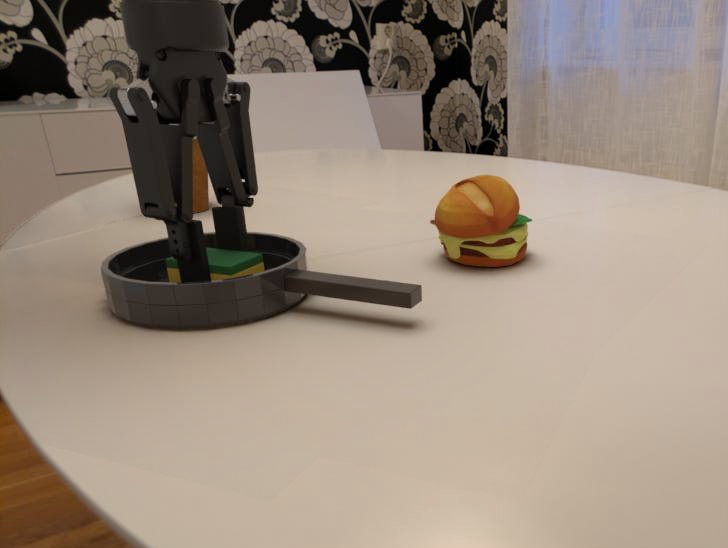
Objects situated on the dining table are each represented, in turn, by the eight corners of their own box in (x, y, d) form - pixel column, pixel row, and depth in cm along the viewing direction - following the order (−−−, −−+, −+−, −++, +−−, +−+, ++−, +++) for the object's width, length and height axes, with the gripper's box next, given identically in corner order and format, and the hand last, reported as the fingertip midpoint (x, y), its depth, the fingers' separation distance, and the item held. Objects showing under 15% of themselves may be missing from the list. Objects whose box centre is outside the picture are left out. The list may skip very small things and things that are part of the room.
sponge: (171, 291, 61) (164, 259, 60) (205, 277, 65) (200, 246, 63) (235, 300, 59) (230, 266, 57) (266, 284, 62) (262, 253, 61)
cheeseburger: (548, 251, 77) (544, 167, 71) (504, 298, 70) (496, 209, 64) (472, 238, 81) (463, 158, 75) (424, 280, 74) (409, 196, 68)
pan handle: (284, 291, 58) (282, 276, 57) (299, 284, 60) (297, 269, 59) (411, 309, 54) (410, 292, 54) (422, 300, 56) (422, 284, 56)
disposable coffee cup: (191, 200, 102) (177, 116, 97) (235, 207, 97) (222, 120, 92) (134, 211, 94) (115, 121, 89) (178, 220, 90) (161, 125, 85)
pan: (64, 315, 57) (52, 270, 56) (203, 262, 72) (197, 225, 71) (230, 343, 52) (223, 295, 51) (343, 280, 67) (340, 241, 65)
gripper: (118, -16, 43) (182, 322, 53) (280, 2, 58) (307, 263, 68) (32, -13, 45) (108, 311, 55) (209, 4, 60) (245, 256, 70)
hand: (218, 284), depth 61 cm, fingers closed on sponge, 4 cm apart
